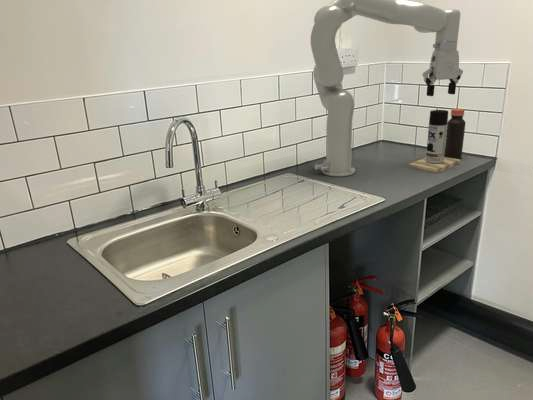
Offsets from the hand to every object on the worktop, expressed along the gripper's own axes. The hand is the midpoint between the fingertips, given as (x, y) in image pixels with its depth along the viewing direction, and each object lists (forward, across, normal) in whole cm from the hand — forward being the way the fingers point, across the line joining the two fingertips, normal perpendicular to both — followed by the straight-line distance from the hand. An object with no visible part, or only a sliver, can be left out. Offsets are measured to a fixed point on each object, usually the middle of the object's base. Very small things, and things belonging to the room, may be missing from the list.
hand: (440, 94), depth 165 cm
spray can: (+26, 0, 0) cm, 26 cm away
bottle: (+28, +14, +6) cm, 32 cm away
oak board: (+28, 0, 0) cm, 28 cm away
